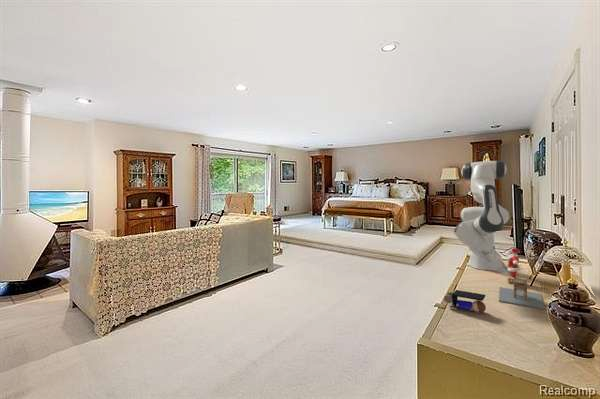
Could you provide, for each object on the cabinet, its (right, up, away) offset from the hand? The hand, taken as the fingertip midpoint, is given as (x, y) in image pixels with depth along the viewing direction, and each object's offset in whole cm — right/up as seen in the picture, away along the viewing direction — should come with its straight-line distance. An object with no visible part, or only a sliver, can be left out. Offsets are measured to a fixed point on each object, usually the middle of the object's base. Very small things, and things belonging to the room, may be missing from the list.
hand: (507, 272), depth 135 cm
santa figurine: (+17, -10, +18) cm, 27 cm away
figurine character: (-28, -13, -12) cm, 33 cm away
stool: (+4, -11, -3) cm, 12 cm away
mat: (+4, -11, -3) cm, 12 cm away
